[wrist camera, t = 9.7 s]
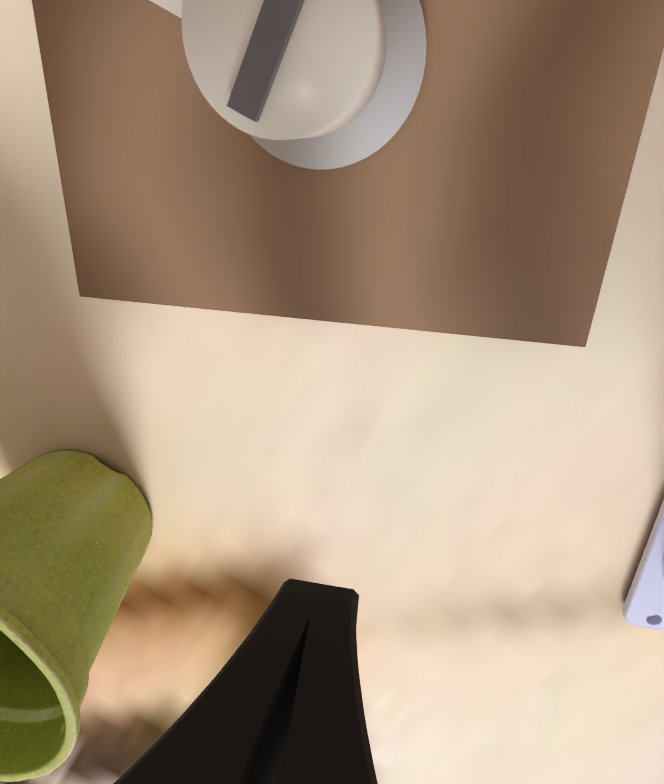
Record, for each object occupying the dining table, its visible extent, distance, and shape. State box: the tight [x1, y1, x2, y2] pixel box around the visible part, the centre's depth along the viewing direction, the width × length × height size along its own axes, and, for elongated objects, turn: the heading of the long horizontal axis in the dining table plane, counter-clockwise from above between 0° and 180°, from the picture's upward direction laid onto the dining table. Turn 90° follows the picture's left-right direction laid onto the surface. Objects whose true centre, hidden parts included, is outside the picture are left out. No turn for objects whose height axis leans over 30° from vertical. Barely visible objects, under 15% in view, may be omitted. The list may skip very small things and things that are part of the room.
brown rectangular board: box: [32, 0, 664, 347], centre depth 14 cm, size 16×14×3 cm
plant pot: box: [0, 450, 152, 782], centre depth 20 cm, size 9×9×9 cm
